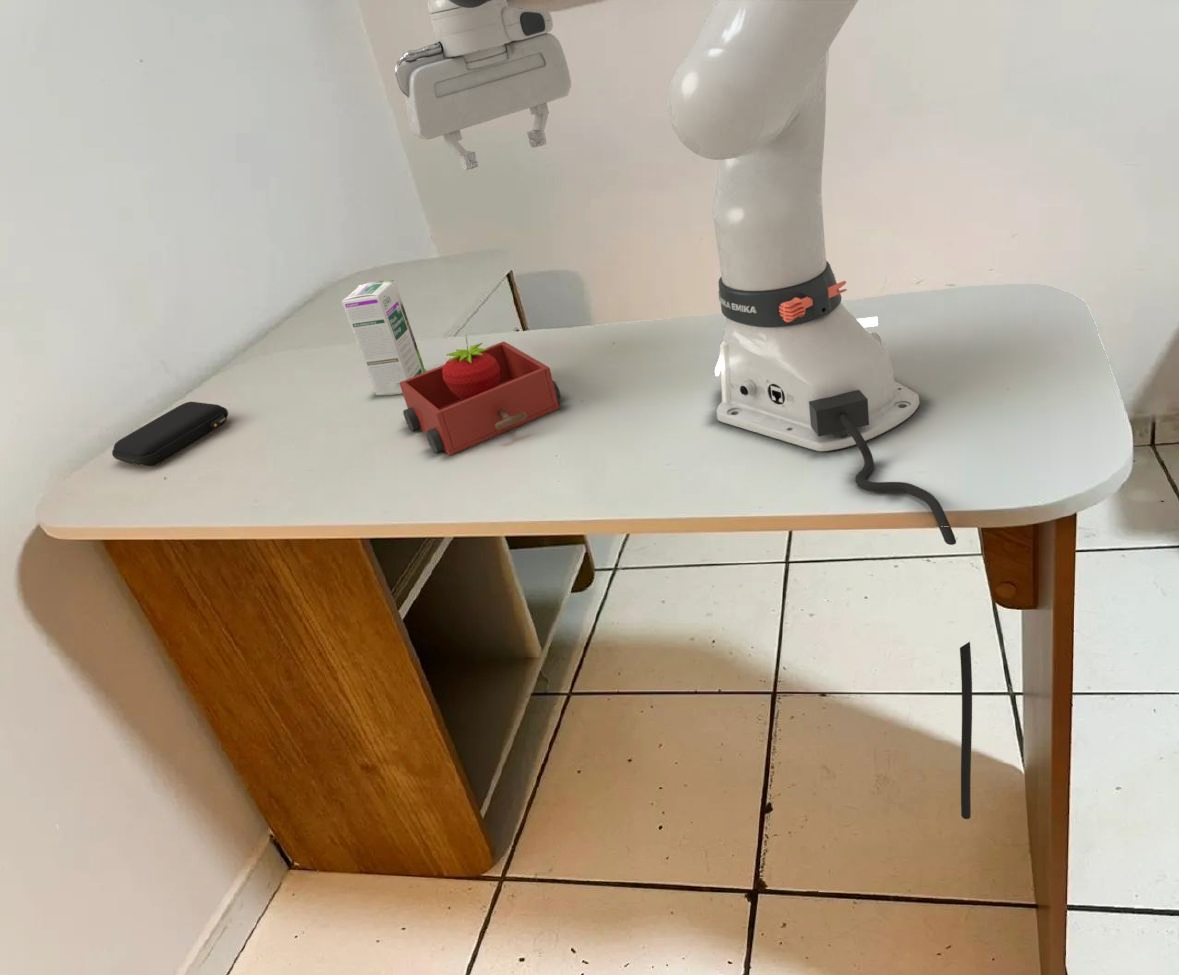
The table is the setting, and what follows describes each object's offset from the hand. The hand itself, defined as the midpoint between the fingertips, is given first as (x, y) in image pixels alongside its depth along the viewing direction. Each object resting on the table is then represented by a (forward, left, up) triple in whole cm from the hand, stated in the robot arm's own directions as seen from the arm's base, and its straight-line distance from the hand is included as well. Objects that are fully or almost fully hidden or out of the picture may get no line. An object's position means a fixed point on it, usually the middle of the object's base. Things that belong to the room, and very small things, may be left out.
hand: (504, 156), depth 113 cm
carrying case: (+25, +48, -28) cm, 61 cm away
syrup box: (+14, +18, -28) cm, 36 cm away
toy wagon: (-7, +13, -28) cm, 32 cm away
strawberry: (-5, +13, -27) cm, 31 cm away
